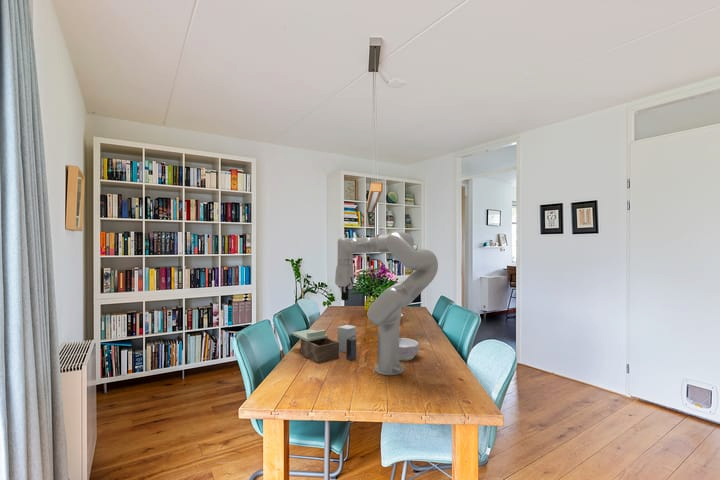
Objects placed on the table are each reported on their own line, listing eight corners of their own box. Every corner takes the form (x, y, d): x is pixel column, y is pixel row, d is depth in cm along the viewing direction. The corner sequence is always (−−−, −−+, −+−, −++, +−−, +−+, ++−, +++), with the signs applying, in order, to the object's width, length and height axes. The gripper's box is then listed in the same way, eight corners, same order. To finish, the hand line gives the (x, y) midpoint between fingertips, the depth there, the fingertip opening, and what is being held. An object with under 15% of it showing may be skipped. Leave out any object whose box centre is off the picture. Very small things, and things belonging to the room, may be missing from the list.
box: (338, 358, 173) (338, 342, 173) (318, 363, 165) (318, 346, 165) (315, 347, 190) (315, 333, 190) (295, 352, 182) (295, 336, 182)
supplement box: (347, 353, 181) (347, 329, 181) (337, 350, 185) (337, 326, 185) (356, 349, 187) (356, 326, 187) (345, 347, 191) (346, 324, 191)
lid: (327, 337, 180) (327, 330, 180) (307, 341, 173) (307, 334, 173) (311, 331, 193) (311, 324, 193) (292, 334, 185) (292, 327, 185)
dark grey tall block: (356, 359, 171) (356, 339, 171) (350, 361, 169) (351, 340, 169) (351, 357, 174) (351, 337, 174) (346, 359, 172) (346, 339, 172)
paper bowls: (415, 364, 165) (415, 347, 165) (384, 360, 170) (384, 344, 170) (420, 354, 179) (420, 339, 179) (392, 351, 184) (392, 336, 184)
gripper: (330, 262, 176) (330, 298, 176) (348, 264, 165) (348, 302, 165) (342, 261, 181) (342, 297, 181) (360, 263, 169) (360, 301, 169)
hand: (344, 299), depth 173 cm, fingers closed
